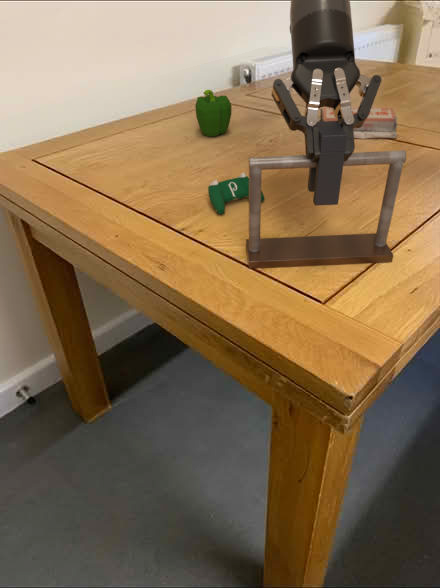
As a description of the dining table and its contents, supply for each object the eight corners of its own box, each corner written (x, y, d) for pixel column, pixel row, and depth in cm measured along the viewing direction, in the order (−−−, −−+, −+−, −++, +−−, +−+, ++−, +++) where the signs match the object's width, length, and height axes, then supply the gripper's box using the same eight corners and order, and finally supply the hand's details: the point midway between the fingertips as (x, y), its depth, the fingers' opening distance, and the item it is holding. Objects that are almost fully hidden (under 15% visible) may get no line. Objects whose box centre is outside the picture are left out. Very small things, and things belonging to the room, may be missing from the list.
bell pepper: (217, 124, 114) (215, 81, 108) (238, 133, 108) (237, 88, 102) (188, 132, 110) (185, 87, 104) (209, 142, 105) (206, 95, 98)
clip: (307, 188, 64) (313, 121, 58) (329, 187, 64) (337, 120, 58) (314, 205, 60) (321, 136, 54) (338, 204, 60) (347, 134, 54)
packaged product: (395, 103, 106) (401, 117, 99) (391, 125, 109) (396, 140, 102) (315, 102, 109) (314, 115, 101) (313, 123, 112) (312, 138, 104)
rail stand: (379, 239, 70) (399, 142, 61) (392, 262, 65) (415, 159, 56) (245, 245, 70) (245, 149, 61) (248, 268, 65) (249, 167, 56)
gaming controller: (258, 207, 83) (246, 176, 83) (267, 199, 79) (254, 167, 80) (213, 220, 80) (200, 188, 80) (219, 212, 76) (206, 179, 77)
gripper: (268, 9, 55) (276, 148, 53) (387, 4, 55) (400, 143, 53) (262, 49, 62) (269, 173, 60) (367, 45, 62) (378, 169, 60)
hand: (330, 158), depth 57 cm, fingers closed on clip, 3 cm apart
